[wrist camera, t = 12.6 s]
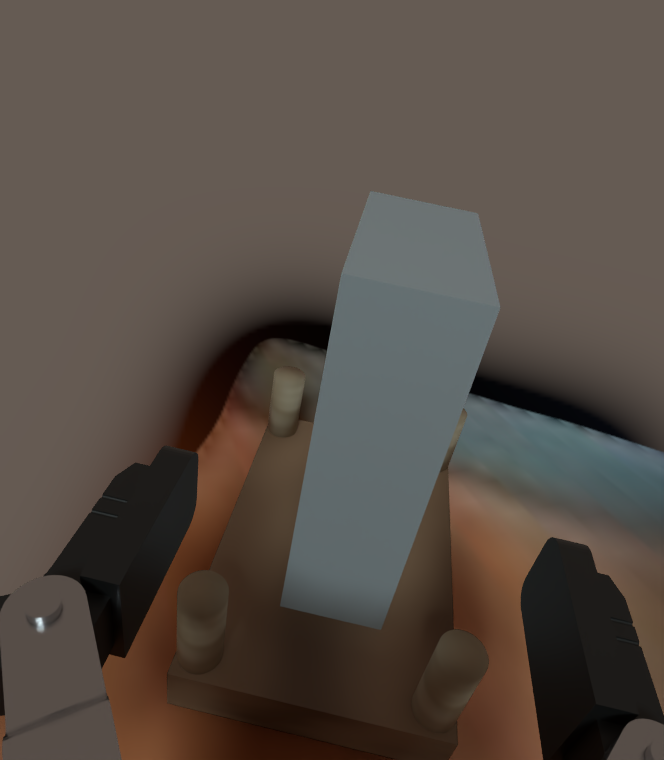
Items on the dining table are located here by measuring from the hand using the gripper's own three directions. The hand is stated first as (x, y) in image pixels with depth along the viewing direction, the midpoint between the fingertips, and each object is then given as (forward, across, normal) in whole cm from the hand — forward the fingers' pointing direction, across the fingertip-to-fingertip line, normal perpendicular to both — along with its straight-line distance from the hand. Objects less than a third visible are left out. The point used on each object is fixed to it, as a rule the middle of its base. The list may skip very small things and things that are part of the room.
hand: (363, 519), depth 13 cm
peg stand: (+8, 0, +12) cm, 15 cm away
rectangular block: (+8, 0, +10) cm, 13 cm away
